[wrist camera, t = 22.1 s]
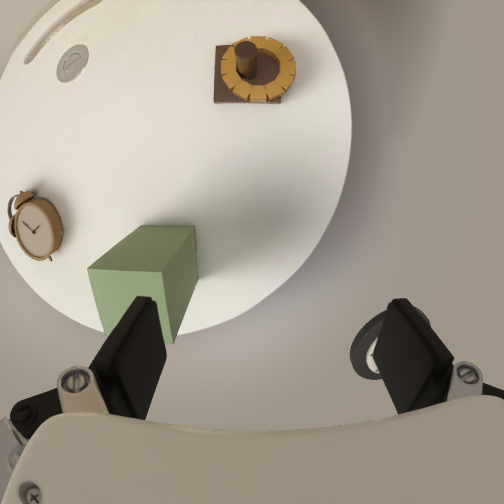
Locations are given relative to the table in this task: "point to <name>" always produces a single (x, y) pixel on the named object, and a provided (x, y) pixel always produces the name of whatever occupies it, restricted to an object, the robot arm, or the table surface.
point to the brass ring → (259, 91)
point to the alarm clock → (35, 226)
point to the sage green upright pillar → (147, 275)
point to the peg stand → (245, 71)
